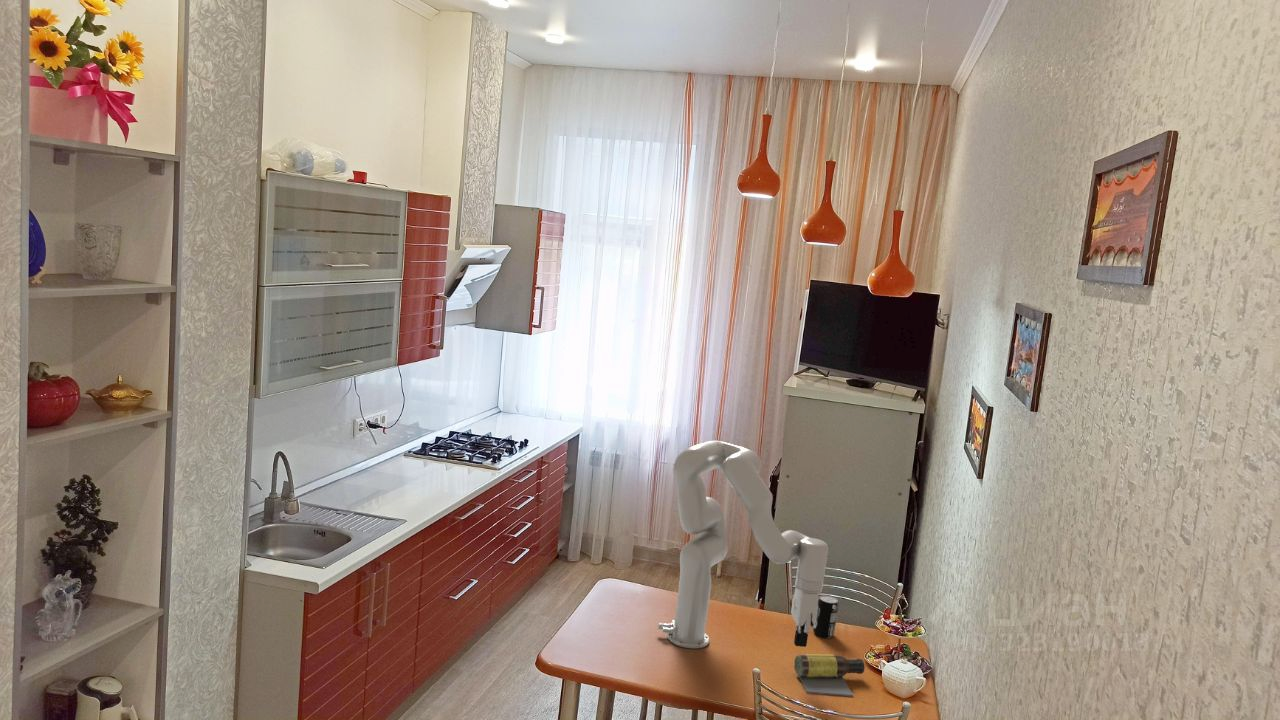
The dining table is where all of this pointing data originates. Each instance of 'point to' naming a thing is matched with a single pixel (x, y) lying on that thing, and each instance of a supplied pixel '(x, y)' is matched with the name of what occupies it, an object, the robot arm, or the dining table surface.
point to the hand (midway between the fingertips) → (800, 645)
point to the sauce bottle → (826, 665)
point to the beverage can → (826, 616)
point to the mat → (826, 685)
